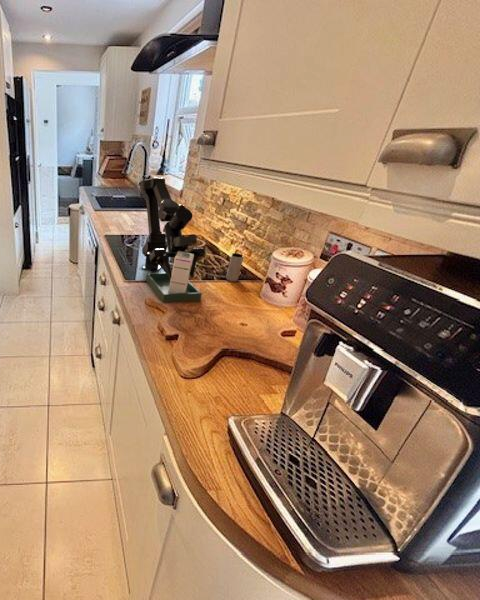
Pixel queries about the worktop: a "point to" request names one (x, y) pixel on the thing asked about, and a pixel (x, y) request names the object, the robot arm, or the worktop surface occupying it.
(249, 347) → the worktop surface
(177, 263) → the syrup box
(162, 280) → the tray
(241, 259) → the grey upright cylinder
